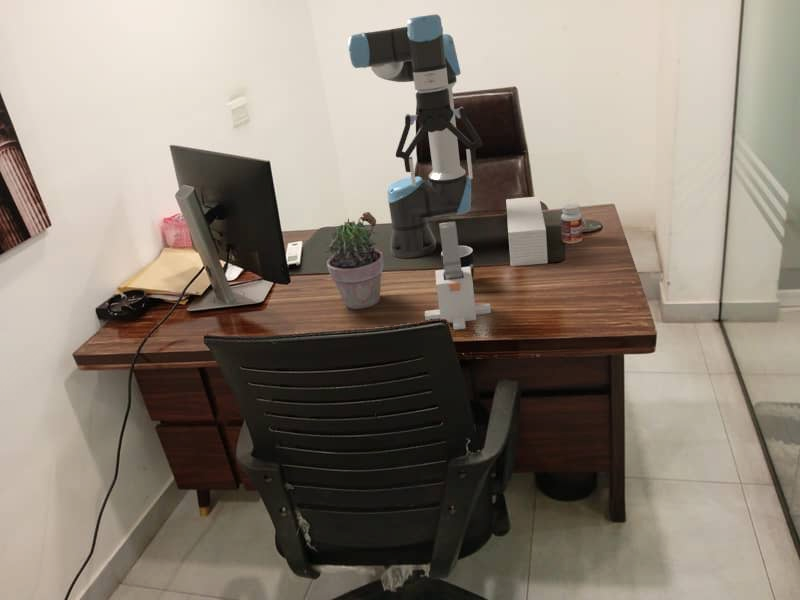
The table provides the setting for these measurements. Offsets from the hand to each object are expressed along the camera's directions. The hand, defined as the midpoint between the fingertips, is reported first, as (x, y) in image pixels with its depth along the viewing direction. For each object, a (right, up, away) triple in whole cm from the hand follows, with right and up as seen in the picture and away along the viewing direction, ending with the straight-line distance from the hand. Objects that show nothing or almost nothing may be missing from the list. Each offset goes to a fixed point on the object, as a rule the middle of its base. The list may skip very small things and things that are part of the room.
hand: (442, 181), depth 160 cm
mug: (+7, -23, +32) cm, 41 cm away
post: (+5, -32, +14) cm, 35 cm away
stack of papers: (+30, -11, +51) cm, 61 cm away
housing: (+5, -32, +14) cm, 35 cm away
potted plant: (-21, -29, +29) cm, 47 cm away
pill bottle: (+44, -10, +49) cm, 67 cm away
